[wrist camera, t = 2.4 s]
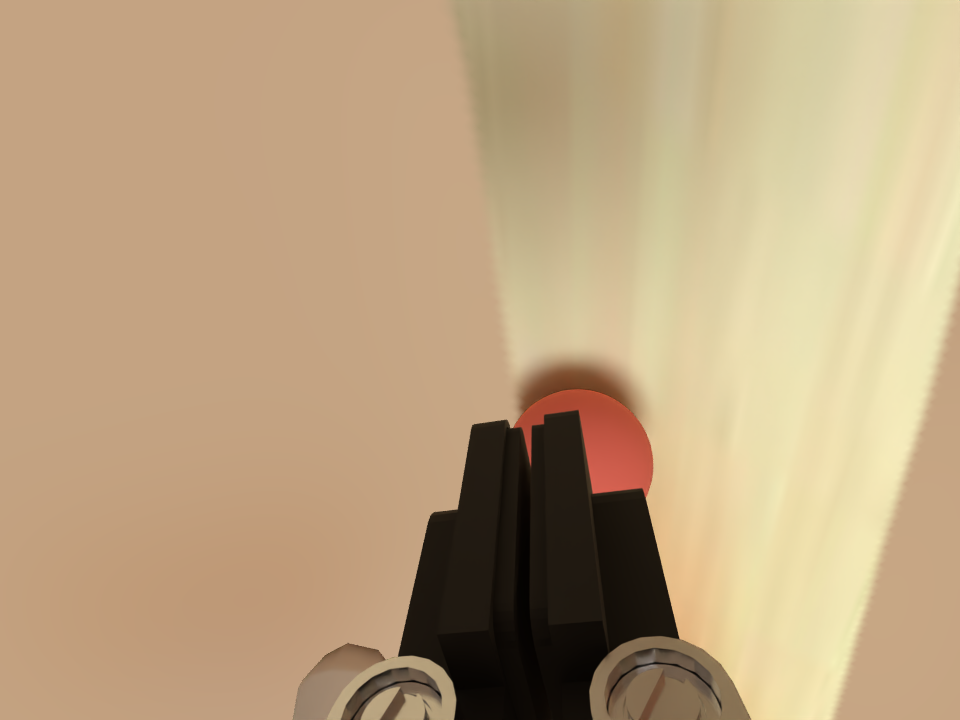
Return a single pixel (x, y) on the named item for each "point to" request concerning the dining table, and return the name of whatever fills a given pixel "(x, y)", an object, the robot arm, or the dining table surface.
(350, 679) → the salt shaker
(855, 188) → the dining table surface
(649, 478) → the ball
